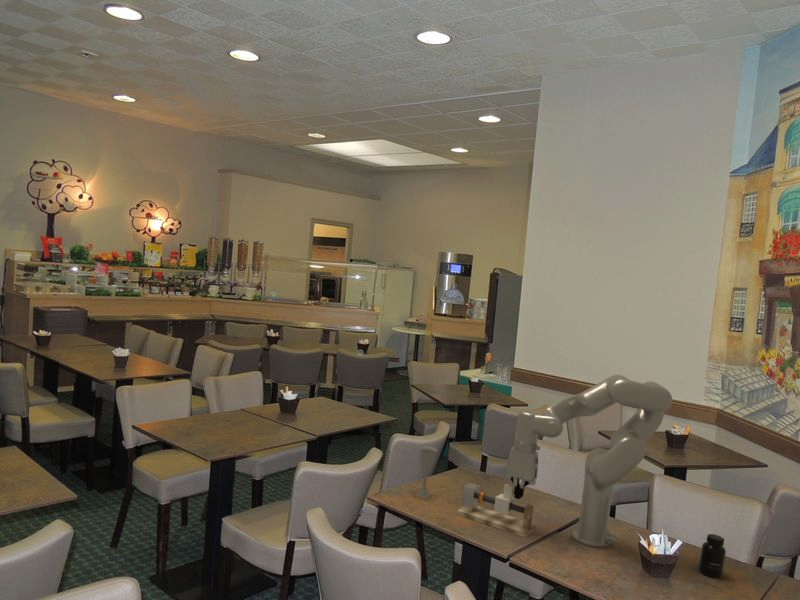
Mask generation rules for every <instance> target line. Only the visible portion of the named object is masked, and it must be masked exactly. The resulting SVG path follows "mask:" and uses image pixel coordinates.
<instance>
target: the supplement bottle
mask: <svg viewBox="0 0 800 600" xmlns="http://www.w3.org/2000/svg"><path fill="white" fill-rule="evenodd" d="M706 536H707V537H706V541H705V542H703V543H702V546H701V550H700V558H699V565H698V570H699V572H700V573H701V574H702V575H705V576H706V577H709V578H712V579H719V578H722V577H723V573H724V572H723V571H724V565H725V560H726V554H727V550H726V548H725V547H724V544H725V539H724V538H723V537H722V536H721V535H718V534H714V533H710V534H709V533H708V534H707V535H706Z"/></svg>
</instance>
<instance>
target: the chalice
mask: <svg viewBox="0 0 800 600" xmlns="http://www.w3.org/2000/svg"><path fill="white" fill-rule="evenodd" d="M419 450H420V451H419V466H420V469H421V472H422V473H423V475H424V476H423V477H422V479H423V480H422V482H421V483H422V487H421V488H419V489H418V491H417V493H416V496H417V497H419V498H423V499H428V498H430V493H429V490H428V489H427V487H426V485H427V474H429V473H430V472H431V470H432V469H433V467H434V464H435V462H436V453H437V452H438V450H437V448H435V447H434V446H433V447H432V446H426V445H425V446H424V445H423V446H420V447H419Z"/></svg>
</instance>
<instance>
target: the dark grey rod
mask: <svg viewBox="0 0 800 600" xmlns="http://www.w3.org/2000/svg"><path fill="white" fill-rule="evenodd" d="M479 495H480V492H479V493H476V494H475V498H476V499H479ZM495 498H496V497H492V496H489V495H487V494H486V495H484V496H483V499H482V500H483V501H485V503H489V504H493V505H495ZM509 509H511V510H513V511H515V512H518V513H520V514H524V511H525V506H522V505H519V504H518V505H517V504H515V503H514V504H512V503H510V505H509Z"/></svg>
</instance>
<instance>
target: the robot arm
mask: <svg viewBox="0 0 800 600" xmlns="http://www.w3.org/2000/svg"><path fill="white" fill-rule="evenodd" d="M615 404H618V405H622V406H626V407H630V408H634V409H637V410H636V411H635V412H634V414H633V415H632V416H631V417H630V419H628V420H627V421H626V422H624V424H622V425H621V426H620V427H619V428H618V429H617V430H616V431H614V432H613V433H612V435H611V437H610V439H609V440H610V441H609V442H610V446H611V448H610V449H608V450H607V449H606V448H601V447H597V448H594V449H591V450H590V451H589V452H588V454H587V456H586V457H585V461H584V478H583V479H584V480H583V489H582V495H581V503H580V513H579V517H578V527H577V529H574V530H573V531H572V538H573V539H574V540H575V541H577V542H578V543H580V544H582V545H585V546H589V547H593V548H607V547H610V546H611V543H613V544H616V545H619V544H620V538H619V537H618V535H615V534H612V533H611V532H610V528H608V527H609V520H610V513H611V506H612V505H611V503H612V497H613V489H614V485H616V484H618V483H619V482H620V481H621V480H622V479H624V478H625V477H626V476H627V475H628V474H629V473H630V472H632V471H633V470H634V469H635V468H636V467H637V466H638V465H639V464H640V463H641V462H642V461H643V459H644V458H645V456H646V453H647V446H646V442H647V440H649V438H651V436H652V435H653V434H654V433H656V431H657V430H658V429H659V427H660V426H661V424H662V422H663V420H664V415H665V412H666V411H668V410H669V409H670V408H671V406H672V404H673V396H672V394H671V392H670V391H669V390H668V389H667V388H666V387H664V386H662V385H661V384H659V383H657V382H655V381H645V382H643V383H641V382H637V381H635V380H634V381H633V380H630V379H628V378H627V377H626V376H625V375H621V374H614V375H611V376H610V377H607V378H606V379H604V380H602V381H600V382H598V383H596V384H595V385H592V387H589V388H588V389H586V390H584V391H582V392H580V393H577V394H574V395H572V396H570V397H568V398H564V399H562V400H560V401H559V402H556V403H553V404H552V405H551V406H548V407H547V408H545V409H544V410H543V411H541V413H539V412H537V411H535V410H531V409H520V410H519V412H518V414H517V421H516V427H515V428H516V429H515V434H514V443H513V446H512V447H511V449H510V452H509V455H508V459H507V463H506V464H507V465H506V468H505V469H506V470H505V471H506V472H505V473H506V474H505V478H507V479H509V480H510V481H511V482H512V484H513V485H512V486H514V489H513V497H514V499H517V500H520V499H522V498H523V496H524V494H525V493H524V492H525V487H528V486H535V485H536V483H537V480H536V479H537V478H538V473H539V452H538V451H540V450H541V446H539V445H538V442H537V441H538V437H539V436H538V435H540V436H543V437H545V438H551V439H552V438H557V437H559V436H560V435H561V434H562V433H563V431H564V424H565V423H566V422H569V421H571V420H573V419H576V418H579V417H580V418H581V417H593V416H596V415H597V414H599V413H601V412H602V411H604V410H606V409H608V408H610V407H611V406H614V405H615ZM520 480H521V482H520Z"/></svg>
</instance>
